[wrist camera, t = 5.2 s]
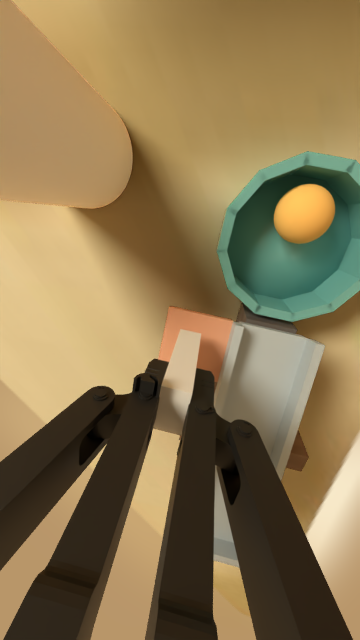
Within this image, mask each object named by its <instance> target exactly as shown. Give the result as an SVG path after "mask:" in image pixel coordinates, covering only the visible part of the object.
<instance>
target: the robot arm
mask: <svg viewBox="0 0 360 640" xmlns="http://www.w3.org/2000/svg"><path fill="white" fill-rule="evenodd" d="M200 339H201V333H196V332H192V331H188V330H183V329H180V332H179V335H178V338H177V341H176V344H175V347H174V350H173V353H172V356H171V359H170V361H169V362H167V361H163V360H159V359H153V360H152V361H151V362H149V364H148V366H147V368H146V371H145V373H141V374H139V375H137V376H136V377H135V378H134V383H133V391H132V393H129V394H124V395H115V393H114V391H113V390H112V389H111V388H109V387H106V386H97V387H93V388H91V389H90V390H88V391H87V392H86V393H84V394H83V395H82V396H81V397H80V398H78V399H77V400H76V401H75V402H73V403H72V404H71V405H70V406H69V407H67V408H66V409H65V410H64V411H62V412H61V413H60V414H59V415H57V416H56V417H55V418H54V419H53V420H51V421H50V422H49V423H48V424H46V425H45V426H44V427H43V428H42V429H40V430H39V431H38V432H37V433H35V434H34V435H33V436H32V437H31V438H29V439H28V440H27V441H26V442H24V443H23V444H22V445H21V446H19V447H18V448H17V449H16V450H15V451H13V452H12V453H11V454H10V455H9V456H7V457H6V458H5V459H3V460H2V461H1V462H0V570H1V569H2V568H3V567H4V565H5V564H6V563H7V562H8V561H9V559H10V558H11V557H12V556H13V555H14V554H15V552H16V551H17V550H18V549H19V548H20V547H21V545H22V544H23V543H24V542H25V541H26V539H27V538H28V537H29V536H30V535H31V533H32V532H33V531H34V530H35V529H36V527H37V526H38V525H39V524H40V522H41V521H42V520H43V519H44V518H45V516H46V515H47V514H48V513H49V512H50V511H51V509H52V508H53V507H54V506H55V505H56V503H57V502H58V501H59V500H60V499H61V497H62V496H63V495H64V494H65V493H66V491H67V490H68V489H69V488H70V487H71V486H72V484H73V483H74V482H75V481H76V479H77V478H78V477H79V476H80V475H81V473H82V472H83V471H84V470H85V469H86V468H87V466H88V465H89V464H90V463H91V462H92V460H93V459H94V458H95V457H96V456H97V454H98V453H99V452H100V451H101V450H102V448H103V447H104V446H105V445H106V444H107V445H106V447H105V449H104V451H103V453H102V455H101V457H100V459H99V461H98V463H97V465H96V467H95V469H94V471H93V474H92V475H91V478H90V480H89V482H88V484H87V486H86V488H85V490H84V492H83V494H82V496H81V498H80V500H79V502H78V504H77V506H76V508H75V510H74V513H73V515H72V516H71V519H70V521H69V523H68V525H67V527H66V529H65V531H64V533H63V535H62V537H61V539H60V541H59V543H58V545H57V547H56V549H55V551H54V553H53V555H52V557H51V559H50V562H49V563H48V565H47V566H46V568H45V569H44V570H43V571H42V572H41V573H39V574H38V576H37V577H36V578H35V580H34V581H33V583H32V585H31V587H30V589H29V590H28V592H27V594H26V596H25V598H24V600H23V602H22V604H21V606H20V608H19V610H18V612H17V614H16V616H15V618H14V620H13V622H12V624H11V626H10V627H9V629H8V631H7V634H6V635H5V637H4V640H90V638H91V634H92V631H93V627H94V623H95V620H96V617H97V614H98V610H99V607H100V603H101V600H102V597H103V594H104V591H105V587H106V584H107V581H108V577H109V574H110V571H111V567H112V564H113V561H114V558H115V554H116V551H117V548H118V544H119V541H120V538H121V534H122V531H123V528H124V525H125V521H126V518H127V514H128V511H129V508H130V505H131V501H132V498H133V495H134V492H135V488H136V485H137V482H138V478H139V475H140V472H141V469H142V465H143V462H144V459H145V455H146V452H147V449H148V445H149V442H150V439H151V435H152V430H153V428H154V429H158V430H162V431H166V432H170V433H174V434H177V435H181V440H180V444H179V448H178V452H177V461H176V466H175V472H174V478H173V483H172V489H171V495H170V500H169V506H168V512H167V517H166V523H165V529H164V534H163V540H162V546H161V551H160V557H159V563H158V569H157V575H156V580H155V585H154V591H153V597H152V602H151V608H150V614H149V619H148V625H147V631H146V636H145V640H218V636H217V628H216V625H215V622H214V619H213V560H214V503H215V465H216V468H217V473H218V477H219V482H220V486H221V490H222V494H223V499H224V503H225V507H226V512H227V516H228V520H229V524H230V529H231V533H232V537H233V541H234V546H235V550H236V554H237V559H238V563H239V567H240V571H241V576H242V580H243V584H244V588H245V593H246V597H247V601H248V606H249V610H250V614H251V618H252V623H253V627H254V631H255V635H256V639H257V640H353V639H352V636H351V634H350V632H349V630H348V628H347V626H346V623H345V621H344V619H343V617H342V615H341V612H340V610H339V608H338V606H337V604H336V601H335V599H334V597H333V595H332V592H331V590H330V588H329V586H328V584H327V582H326V579H325V578H324V575H323V573H322V570H321V568H320V566H319V564H318V562H317V560H316V557H315V555H314V553H313V551H312V549H311V546H310V544H309V542H308V540H307V538H306V535H305V533H304V531H303V529H302V527H301V524H300V522H299V520H298V518H297V516H296V513H295V511H294V509H293V507H292V505H291V502H290V500H289V498H288V496H287V494H286V491H285V489H284V487H283V485H282V483H281V480H280V478H279V476H278V474H277V472H276V469H275V467H274V465H273V463H272V461H271V458H270V456H269V454H268V452H267V450H266V448H265V445H264V443H263V441H262V439H261V437H260V434H259V432H258V430H257V429H256V427H255V426H254V425H252V424H251V423H250V422H248V421H246V420H241V419H237V420H234V421H232V423H230V422H228V421H226V420H225V419H223V418H221V417H220V416H219V415H218V414H217V413H216V410H215V408H214V382H215V377H214V375H213V374H212V372H211V371H207V370H203V369H199V368H196V366H197V359H198V353H199V346H200ZM107 442H108V443H107Z"/></svg>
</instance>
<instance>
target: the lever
mask: <svg viewBox="0 0 360 640" xmlns="http://www.w3.org/2000/svg"><path fill="white" fill-rule="evenodd" d="M180 329H183V330H188V331H192V332H196V333H201V339H200V346H199V353H198V359H197V366H196V368H199V369H203V370H207V371H211V372H212V374H213V375H214V377H215V382H217V386H216V390H215V394H214V408H215V410H216V413H217V414H218V415H219V416H220V417H221V418H223V419H225V420H226V421H228V422H230V423H232V421H234V420H237V419H241V420H246V421H248V422H250V423H251V424H252V425H254V426H255V427H256V429H257V430H258V432H259V434H260V437H261V439H262V441H263V443H264V445H265V448H266V450H267V452H268V454H269V456H270V458H271V461H272V463H273V465H274V467H275V469H276V472H277V474H278V476H279V478H280V480H282V477H283V474H284V471H285V468H286V465H287V462H288V459H289V456H290V453H291V450H292V447H293V443H294V440H295V437H296V434H297V431H298V428H299V425H300V422H301V419H302V416H303V413H304V410H305V407H306V404H307V400H308V397H309V394H310V391H311V388H312V385H313V382H314V379H315V376H316V373H317V370H318V367H319V364H320V361H321V357H322V354H323V351H324V348H325V345H323V344H322V343H320V342H318V341H316V340H312V339H308V338H306V337H304V336H302V335H298V334H293V333H289V332H285V331H280V330H276V329H271V328H267V327H263V326H258V325H254V324H249V323H245V322H240V321H239V323H238V322H233V321H232V319H227V318H223V317H218V316H214V315H210V314H205V313H201V312H196V311H192V310H188V309H183V308H179V307H174V306H170V307H169V310H168V315H167V319H166V324H165V329H164V334H163V339H162V343H161V348H160V353H159V358H158V359H159V360H163V361H167V362H169V361H170V359H171V356H172V353H173V350H174V347H175V344H176V341H177V338H178V335H179V332H180ZM214 561H218V562H221V563H225V564H228V565H232V566H235V567H239V563H238V559H237V554H236V550H235V546H234V541H233V537H232V533H231V529H230V524H229V520H228V516H227V512H226V507H225V503H224V499H223V494H222V490H221V486H220V482H219V477H218V473H217V468H216V465H215V503H214ZM239 568H240V567H239Z"/></svg>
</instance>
